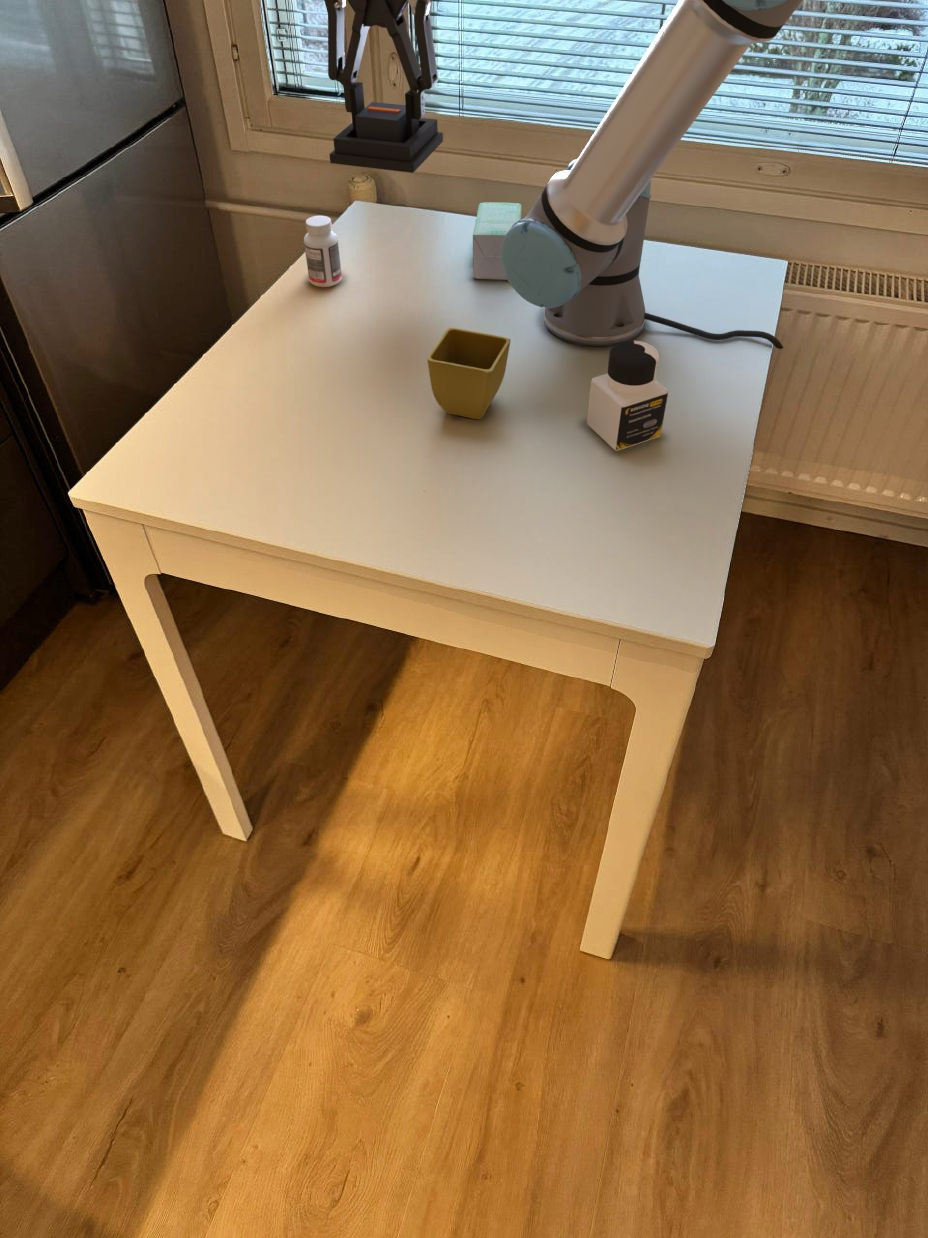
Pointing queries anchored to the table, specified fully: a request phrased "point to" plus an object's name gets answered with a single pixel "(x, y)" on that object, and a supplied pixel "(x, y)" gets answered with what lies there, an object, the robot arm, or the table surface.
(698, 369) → the table surface
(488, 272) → the box
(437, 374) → the flower pot
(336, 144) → the base pad
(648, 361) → the medicine bottle
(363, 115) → the dark grey square block
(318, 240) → the pill bottle
